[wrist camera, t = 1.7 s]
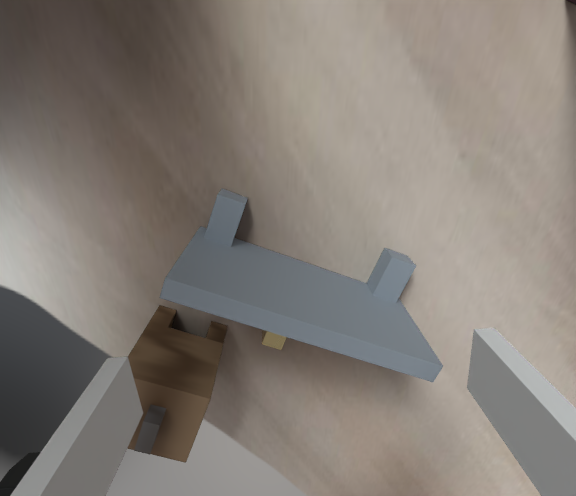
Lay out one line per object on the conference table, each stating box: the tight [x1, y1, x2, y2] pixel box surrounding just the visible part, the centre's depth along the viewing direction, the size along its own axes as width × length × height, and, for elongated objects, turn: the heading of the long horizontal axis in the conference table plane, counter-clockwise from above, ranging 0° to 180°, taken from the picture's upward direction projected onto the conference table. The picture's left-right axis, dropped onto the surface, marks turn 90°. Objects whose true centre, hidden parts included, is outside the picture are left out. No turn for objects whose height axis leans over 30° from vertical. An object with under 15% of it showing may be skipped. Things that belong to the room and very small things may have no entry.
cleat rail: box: [262, 330, 287, 350], centre depth 35 cm, size 2×7×2 cm, turn 159°
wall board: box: [160, 189, 443, 382], centre depth 29 cm, size 20×6×11 cm, turn 69°
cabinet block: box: [128, 305, 227, 462], centre depth 32 cm, size 7×7×12 cm
